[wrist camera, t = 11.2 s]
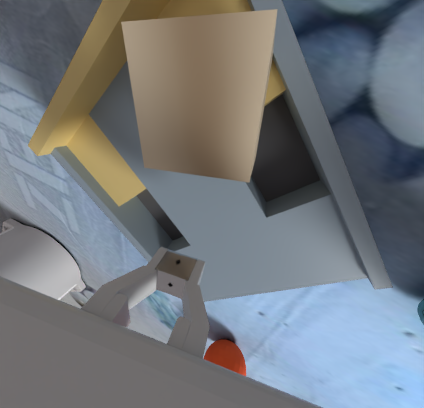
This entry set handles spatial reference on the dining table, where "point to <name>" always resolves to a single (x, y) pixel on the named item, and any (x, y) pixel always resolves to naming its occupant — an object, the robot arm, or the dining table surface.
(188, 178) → the tray
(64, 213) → the dining table surface
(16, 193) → the dining table surface
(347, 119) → the dining table surface
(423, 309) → the beverage bottle
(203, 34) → the cube
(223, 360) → the clementine
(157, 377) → the robot arm
